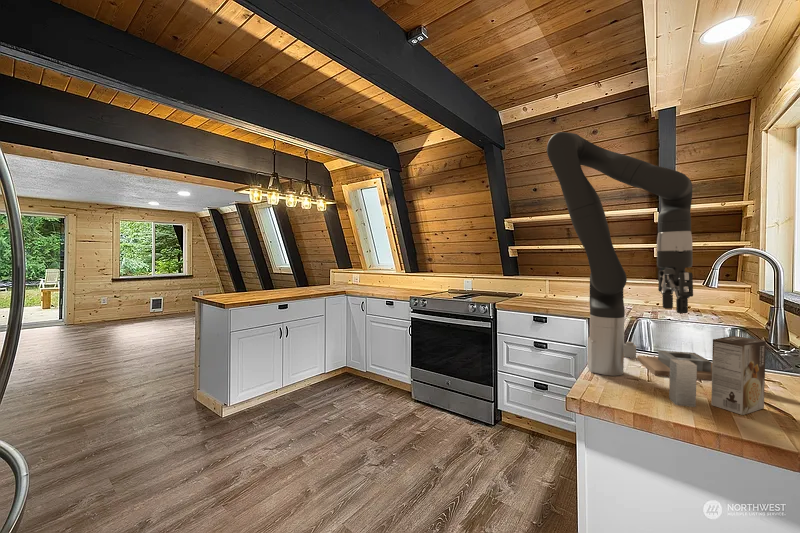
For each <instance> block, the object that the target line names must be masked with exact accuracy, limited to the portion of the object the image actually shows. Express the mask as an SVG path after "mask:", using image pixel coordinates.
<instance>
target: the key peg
mask: <svg viewBox="0 0 800 533" xmlns="http://www.w3.org/2000/svg"><path fill="white" fill-rule="evenodd" d="M697 380H698V379H697V365H696V364H694V363H693V362H691V361H689V360H676V359H670V376H669V381H668V382H669V383H668V384H669V388H668V391H669V392H668V399H669V400H670V401H671V402H672V403H673V405H675V406H682V407H691V408H697V407H696V406H697Z"/></svg>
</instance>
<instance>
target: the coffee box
mask: <svg viewBox="0 0 800 533" xmlns="http://www.w3.org/2000/svg"><path fill="white" fill-rule="evenodd" d="M766 344H767V341H766V340H762V339H756V338H751V337H750V338H749V337H744V336H738V335H731V336H725V337H720V338H713V339H712V355H711V356H712V360H711V362H712V380H711V400H710V401H711V403H710V404H711V406H713V407H717V408H720V409H721V410H726V411H729V412H731V413H735V414H738V415H741V416H745V415H748V414H751V413H754V412H757V411H760V410H762V409H764V408H765V388H766V387H765V386H766V384H765V383H766V382H765V380H766V353H767V352H766V348H767V345H766Z"/></svg>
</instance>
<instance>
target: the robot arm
mask: <svg viewBox="0 0 800 533" xmlns="http://www.w3.org/2000/svg"><path fill="white" fill-rule="evenodd" d="M546 153H547V157H548V159H549V162H550V165H551V166H552V169H553V170H554V172H555V175H556V177H557V180H558V182H559V185H560V189H561V192H562V195H563V198H564V201H565V204H566V208H567V211H568V215H569V217H570V220H571V224H572V226H573V228H574V231H575V234H576V235H577V237H578V239H579V241H580V243H581V245H582V246H583V249H584V251H585V253H586V258H587V260H588V266H589V269H590V275H589V336H588V337H587V368H588V370H589V371H590V373H595V374H600V375H603V376H604V375H605V376H610V377H611V376H613V377H614V376H621V375H624V368H625V367H624V366H625V365H624V363H625V362H624V360H625V359H624V358H625V357H624V344H625V314H626V313H625V311H626V308H625V303H624V302H625V301H624V288H625V286H626V285H627V281H628V279H627V274H626V271H625V269H624V268H623V265H622V263H621V262H620V259H619V256H618V255H617V252H616V250H615V248H614V244H613V243H612V242H613V241H612V237H611V232H610V227H609V224H608V221H607V216H606V213H605V209H604V207H603V204H602V201H601V198H600V197H599V196H600V195H599V194H598V192H597V191H596V190H595V188H594V186H593V185H592V184H591V182H590V181H589V179H588V178H587V176H586V175H585V174H584V171H583V168H582V166H584V167H587V168H590V169H594V170H596V171H598V172H600V173H602V175H603V174H604V175H605V176H607V177H609V178H611V179H612V180H615V181H617V182H621V183H622V184H625V185H628V186H631V187H633V188H636V189H642V190H645V191H647V192H649V193H652V194H654V195H655V196H658V197H660V212H659V214H658V217H657V237H656V267H657V268H662V269H663V268H664V270H659V271H658V289H657V291H658V292H659V293H660V294H661V296H662V308H663V309H668V310H669V309H673V308H674V298H673V297H674V295H673V294H675V298H676V299H675V302H676V305H675V306H676V307H675V308H676V310H675V312H676V314H688V312H689V309H688V308H689V304H688V303H689V300H688V299H690V297H693V296H694V280H693V279H694V278H693V273H692V272H689V271H688V272H687V271H686V268H692V267H693V263H694V262H693V251H694V250H693V236H692V216H691V215H692V214H691V208H692V200H693V183H692V181H691V179H690V178H689V176H687V175H686V174H684V173H683V172H680V171H678V170H676V169H675V170H674V169H671V168H667V167H663V166H659V165H656V164H655V165H654V164H653V163H650V162H647V161H646V160H642V159H638V158H636V157H633V156H630V155H625V154H623V153H619V152H615V151H612V150H609V149H606V148H603V147H601V146H599V145H596V144H595V143H593V142H591V141H589V140H588V139H585V138H583V137H582V136H580V135H579V134H578V133H577V134H576V133H574V132H567V131H562V132H561V131H559V132H556V133H554V134H553V135H551V137H550V138H549V139H548V142H547V146H546Z"/></svg>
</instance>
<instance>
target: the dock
mask: <svg viewBox="0 0 800 533" xmlns="http://www.w3.org/2000/svg"><path fill="white" fill-rule="evenodd" d="M657 352H658V353H657V356H647V355H645V356H644V355H636V359H637V361H638V363H640V364H642V366H644V367H645V368H646V369H647V371H650V372H651V373H652V374H653V375H654V376H657V377H658V376H660V377H670V359H676V360H689V361H691V362H693V363H694V364H696V365H697V380H707V381H712V360H708V359H707V358H705V357H703V356H702V355H701V354H700V355H699V354H698V353H696V352H688V351H675V350H674V351H671V350H660V349H659V350H658V351H657Z"/></svg>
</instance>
